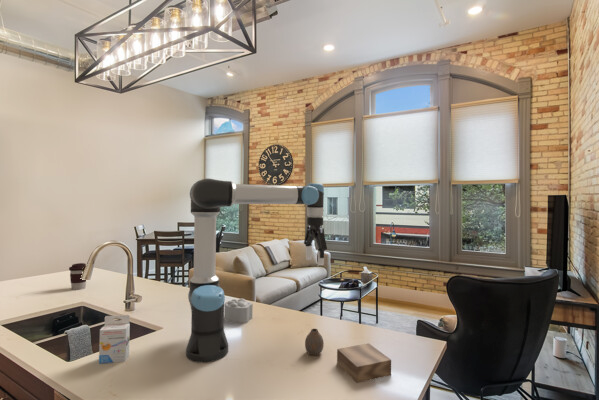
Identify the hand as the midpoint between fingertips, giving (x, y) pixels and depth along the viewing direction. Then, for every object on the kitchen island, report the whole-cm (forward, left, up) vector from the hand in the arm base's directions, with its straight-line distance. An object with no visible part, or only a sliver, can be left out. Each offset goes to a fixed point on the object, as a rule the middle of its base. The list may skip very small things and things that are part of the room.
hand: (314, 262), depth 151 cm
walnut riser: (-1, -43, -28) cm, 52 cm away
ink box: (-80, -7, -28) cm, 85 cm away
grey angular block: (-32, +17, -28) cm, 46 cm away
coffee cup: (-114, +100, -28) cm, 154 cm away
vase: (-12, -27, -28) cm, 41 cm away
